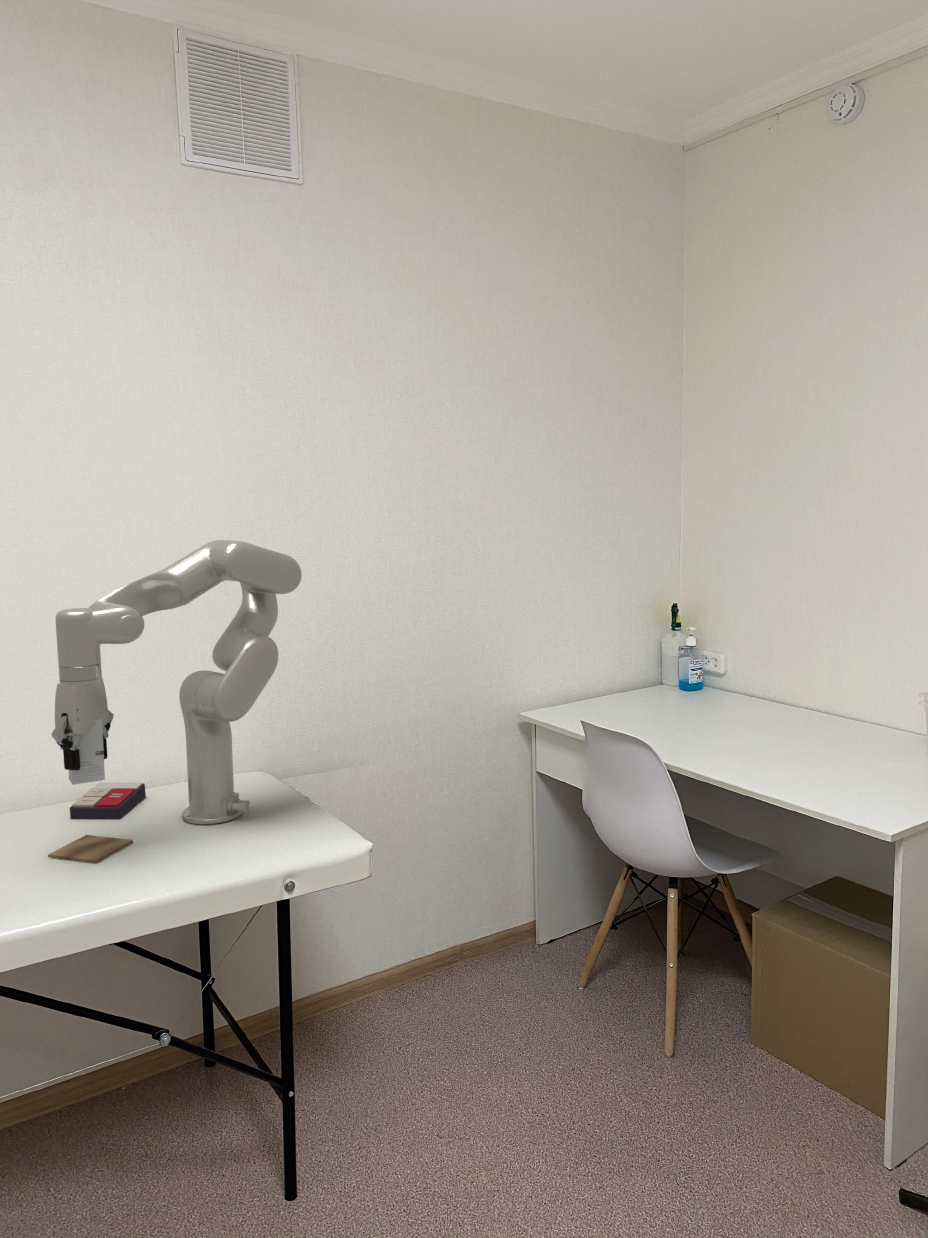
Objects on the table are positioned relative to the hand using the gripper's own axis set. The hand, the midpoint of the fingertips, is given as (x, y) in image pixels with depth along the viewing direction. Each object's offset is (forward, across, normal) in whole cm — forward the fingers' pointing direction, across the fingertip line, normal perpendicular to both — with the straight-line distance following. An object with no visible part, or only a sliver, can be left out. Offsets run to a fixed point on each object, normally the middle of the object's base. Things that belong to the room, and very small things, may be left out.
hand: (86, 763), depth 177 cm
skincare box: (+4, 0, 0) cm, 4 cm away
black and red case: (+18, -22, -13) cm, 32 cm away
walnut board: (+17, 0, 0) cm, 17 cm away
